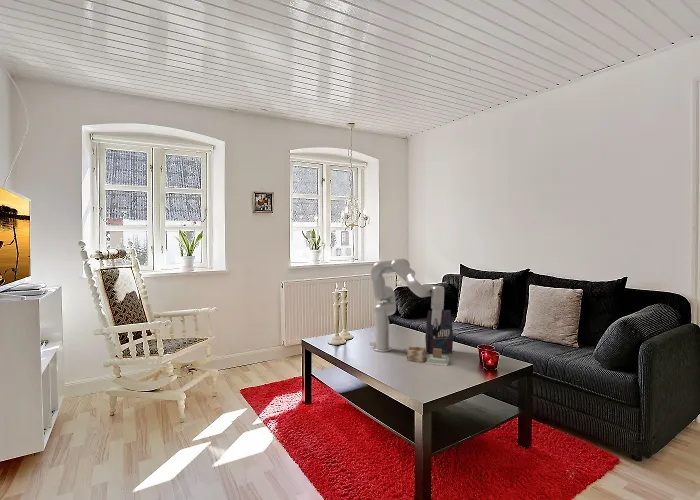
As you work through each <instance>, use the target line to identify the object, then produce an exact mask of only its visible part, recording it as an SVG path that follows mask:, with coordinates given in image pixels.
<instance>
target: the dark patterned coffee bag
mask: <svg viewBox="0 0 700 500" xmlns="http://www.w3.org/2000/svg"><path fill="white" fill-rule="evenodd" d="M432 310H433V309H431V310H427V317H426V325H425V334H424V335H425V337H424V338H425V339H424V341H425V352H426V353H427V354H428V355H429V354H433V348H438V349H442V355H448V354H449V355H450V353H451V354H453V346H454V345H453V342H454V341H453V340H454V333H453V332H454V331H453V330H454V329H453V320H452V313H451V309H442V316H441V323H440V332H438V336H433V325H431V321H432Z"/></svg>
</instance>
